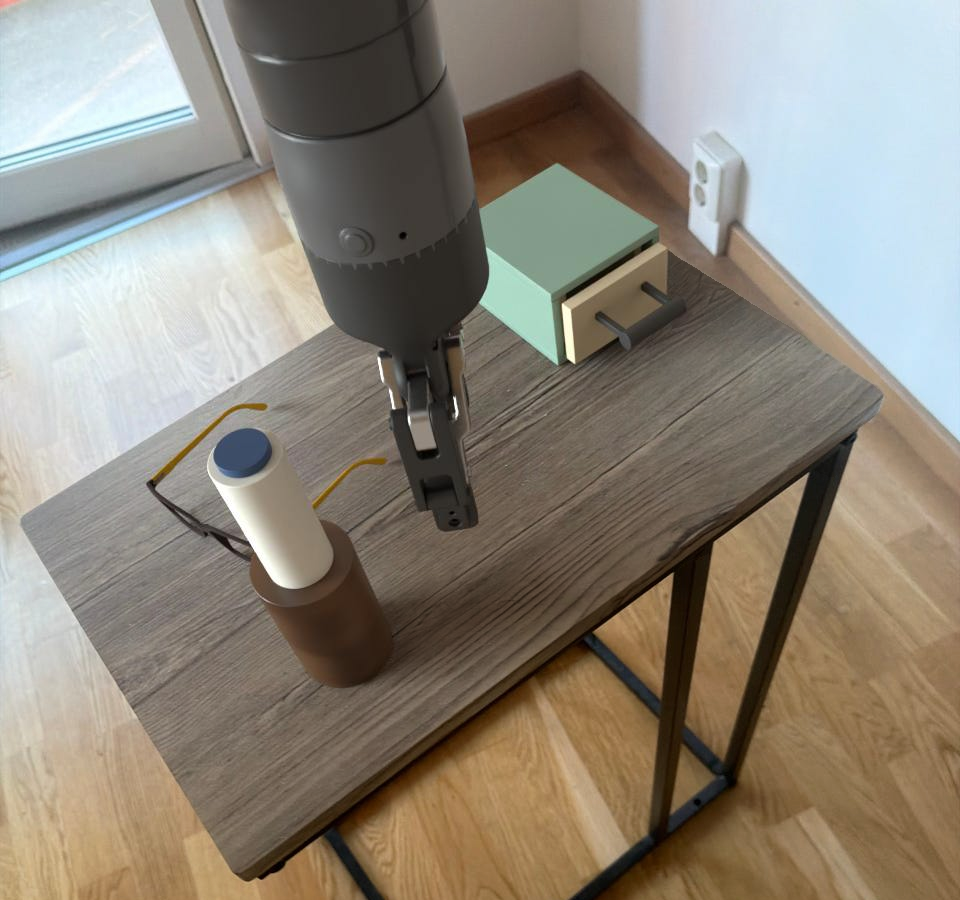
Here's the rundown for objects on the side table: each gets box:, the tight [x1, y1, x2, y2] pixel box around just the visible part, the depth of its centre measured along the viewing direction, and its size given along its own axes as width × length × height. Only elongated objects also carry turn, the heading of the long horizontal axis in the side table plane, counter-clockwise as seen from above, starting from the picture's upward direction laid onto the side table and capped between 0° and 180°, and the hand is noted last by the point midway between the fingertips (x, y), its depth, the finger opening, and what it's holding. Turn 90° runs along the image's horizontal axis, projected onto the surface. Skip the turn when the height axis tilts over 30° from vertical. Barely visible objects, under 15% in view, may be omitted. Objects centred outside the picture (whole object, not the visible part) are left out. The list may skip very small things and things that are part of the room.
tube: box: [206, 427, 333, 589], centre depth 56 cm, size 4×4×11 cm
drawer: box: [559, 241, 688, 365], centre depth 81 cm, size 17×10×6 cm, turn 36°
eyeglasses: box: [145, 402, 388, 563], centre depth 77 cm, size 14×14×4 cm
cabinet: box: [478, 162, 660, 367], centre depth 83 cm, size 14×12×8 cm
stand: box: [248, 518, 393, 689], centre depth 65 cm, size 7×7×11 cm
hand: (455, 463), depth 52 cm, fingers open, 8 cm apart
